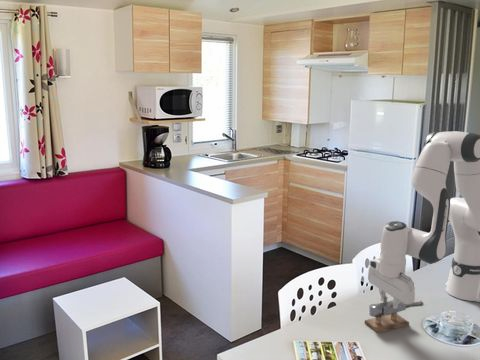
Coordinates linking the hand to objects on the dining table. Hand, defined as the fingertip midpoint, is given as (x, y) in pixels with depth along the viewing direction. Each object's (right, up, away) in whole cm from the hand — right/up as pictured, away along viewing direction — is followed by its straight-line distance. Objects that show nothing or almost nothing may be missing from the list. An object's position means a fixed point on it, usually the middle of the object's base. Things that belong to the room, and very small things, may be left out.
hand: (388, 304), depth 165 cm
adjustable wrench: (+7, -5, +15) cm, 17 cm away
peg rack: (0, -7, +1) cm, 8 cm away
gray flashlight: (-1, -3, 0) cm, 3 cm away
